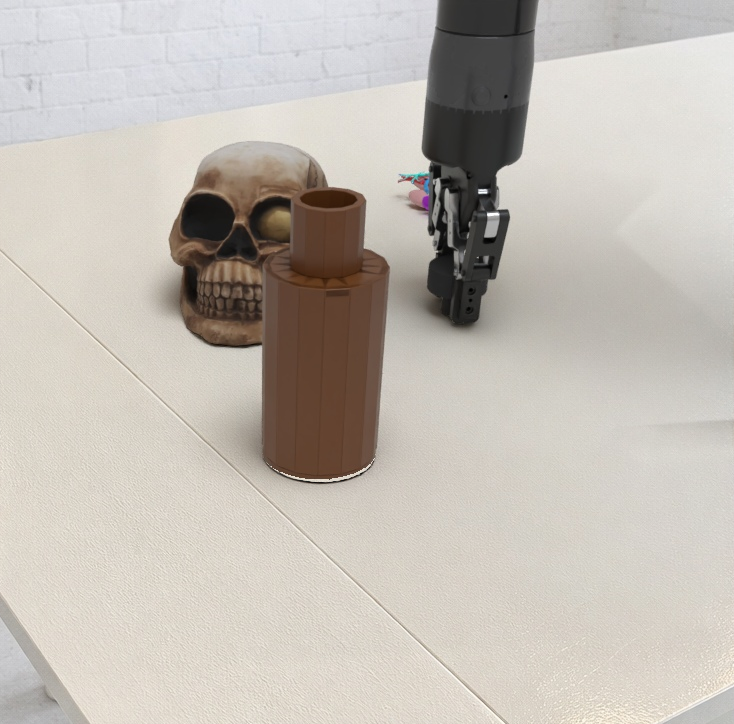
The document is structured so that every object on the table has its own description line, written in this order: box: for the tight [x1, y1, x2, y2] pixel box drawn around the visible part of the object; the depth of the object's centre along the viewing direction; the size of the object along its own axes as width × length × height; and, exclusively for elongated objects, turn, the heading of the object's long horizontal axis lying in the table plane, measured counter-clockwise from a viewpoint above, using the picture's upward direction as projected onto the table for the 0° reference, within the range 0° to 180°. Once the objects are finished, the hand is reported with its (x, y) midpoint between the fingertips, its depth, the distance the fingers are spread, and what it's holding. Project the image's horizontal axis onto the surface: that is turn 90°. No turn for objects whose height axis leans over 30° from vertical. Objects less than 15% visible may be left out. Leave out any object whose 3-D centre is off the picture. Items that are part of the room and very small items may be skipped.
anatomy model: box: [397, 171, 429, 211], centre depth 114 cm, size 5×8×7 cm
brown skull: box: [168, 140, 329, 347], centre depth 93 cm, size 16×17×13 cm
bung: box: [426, 255, 489, 317], centre depth 91 cm, size 5×5×4 cm
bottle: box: [261, 186, 391, 480], centre depth 69 cm, size 7×7×17 cm
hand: (454, 307), depth 92 cm, fingers closed on bung, 4 cm apart
